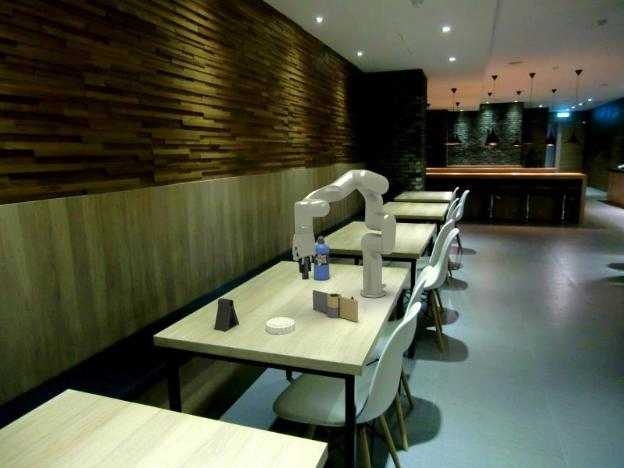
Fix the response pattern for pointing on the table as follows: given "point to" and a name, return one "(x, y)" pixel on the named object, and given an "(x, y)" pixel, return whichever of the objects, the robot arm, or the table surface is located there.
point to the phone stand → (226, 315)
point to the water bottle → (321, 260)
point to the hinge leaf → (344, 306)
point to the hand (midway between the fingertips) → (305, 271)
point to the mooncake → (280, 325)
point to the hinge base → (324, 305)
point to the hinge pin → (306, 269)
